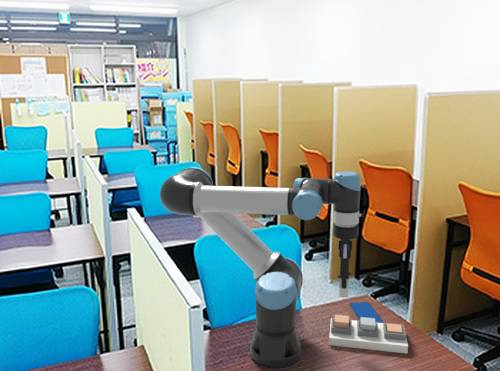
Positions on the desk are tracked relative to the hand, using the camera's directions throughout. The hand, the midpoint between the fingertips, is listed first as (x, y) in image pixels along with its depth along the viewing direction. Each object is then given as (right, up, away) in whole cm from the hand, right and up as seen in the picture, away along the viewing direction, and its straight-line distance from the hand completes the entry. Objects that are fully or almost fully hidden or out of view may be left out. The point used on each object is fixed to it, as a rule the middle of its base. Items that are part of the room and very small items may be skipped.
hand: (343, 295), depth 144 cm
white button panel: (+8, -14, +2) cm, 16 cm away
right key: (+15, -12, -1) cm, 19 cm away
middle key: (+8, -10, +1) cm, 12 cm away
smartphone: (+11, -11, +17) cm, 23 cm away
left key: (0, -10, +2) cm, 10 cm away
